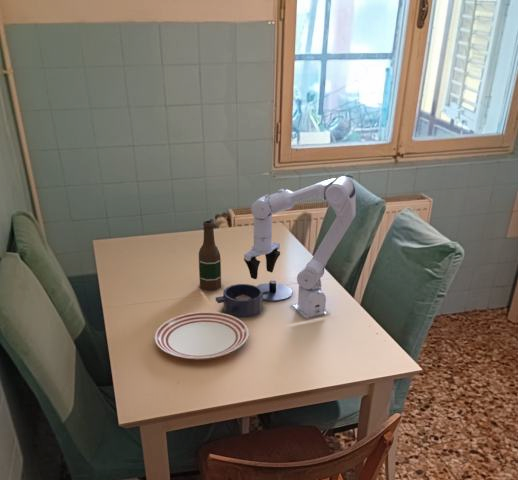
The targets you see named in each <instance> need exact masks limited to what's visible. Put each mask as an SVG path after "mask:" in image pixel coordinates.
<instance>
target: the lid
mask: <svg viewBox="0 0 518 480" xmlns="http://www.w3.org/2000/svg"><path fill="white" fill-rule="evenodd" d="M256 286H257V287H259V288H260V289H265V288H267V289H268V290H269V291H270V294H266V295H263V301H265V302H282V301H286V300H287V299H288V300H289V299H290V298H291V297H292V295H293V290H292V288H291V287H289V286H288V285H285V284H283V283H277V281H276V280H269V281H268V282H266V283H261V284H258V285H256Z"/></svg>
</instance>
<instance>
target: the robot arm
mask: <svg viewBox="0 0 518 480" xmlns="http://www.w3.org/2000/svg"><path fill="white" fill-rule="evenodd" d="M357 191H358V190H357V188H356V186H355V183H354V182H353V180H352V179H351V178H350V177H348V176H344V175H343V176H339V177H337V178H335V177H334V178H330V179H327V180H322V181H320V182H317V183H314V184H311V185H309V186H306V187H303V188H300V189H298V190H295V191H291V190H289V189H284V188H280V189H278V191H277V192H275V193H272V194H269V193H267V194H265V195H263V196H261V197H259V198H258V199H256V200H254V202H253V203H252V204H251V207H250V213H251V214H252V216H253V244H252V246H251V249H250V250H248V251H247V252H245V253H244V254H243V256H244V257H243V261H244V262H245V264H246V267H247V268H248V272H249V275H250V279H253V280H257V279H258V275H259V274H258V273H259V266H260V264H261V261H260V260H258V259H257V257H260V256H263V255H264V256H265V264H266V272H269V273H273V272H274V270H275V266H276V263H277V261H278V259H279V257H280V255H281V251H280V247H281V244H280V243H279V242H276V241H275V242H272V239H273V237H272V236H273V235H272V233H273V232H272V231H273V215H275V214H279V213H281V212H285V211H288V210H291V209H293V208H294V207H295V204H298V203H301V202H304V201H308V200H312V199H315V198H318V199H319V200H321V201H322V202H325V201H326V202H327V203H328V205H329V206H330V207H331V208H332V210H333V211H334V213H335V215H336V217H335V219H334V221H333V222H332V224H331V226H330V227H329V229H328V230H327V232H326V234H325V236H324V237H323V239H322V241H321V243H320V244H319V246H318V248H317V249H316V250H315V253H314V254H313V255H312V257H311V259H310V261H308V262H307V264H306V265H305V266H304V268H302V270H301V271H299V273H298V274H297V277H296V282H297V284H298V294H297V303H296V304H292V307H294V309H295V310H297V311H298V312H299V313H300V314H301V315H302V316H303V317H304V318H313V317H317V316H321V315H326V314H328V312H326V304H327V303H326V301H327V297H326V294H325V293H324V291H323V289H322V279H321V278H323V276H324V274H325V268H326V266H327V264H328V261H329V260H330V258H331V257H332V255H333V253H335V250H336V248H337V247H338V245H339V244H340V242H341V240H342V239H343V237H344V236H345V234H346V232H347V231H348V229H349V227H350V226H351V224H352V222H353V221H354V219H355V217H356V214H357V213H356V212H357V211H356V210H357V204H356V203H357V198H356V197H357Z"/></svg>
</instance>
